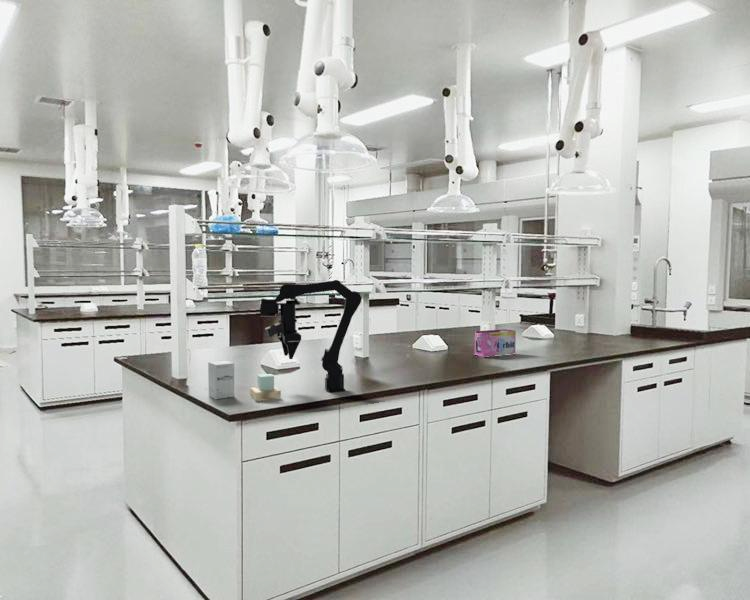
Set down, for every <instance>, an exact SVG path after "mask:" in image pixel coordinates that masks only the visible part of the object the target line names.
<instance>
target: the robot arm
mask: <svg viewBox="0 0 750 600" xmlns="http://www.w3.org/2000/svg"><path fill="white" fill-rule="evenodd" d="M332 291H335V292H336V293H337V294H339V295H340V296H341V297H343V298H344V299H345V300H344V301H345V302H344V308H343V313H342V316H341V318H340V321H339V323H338V326H337V329H336V332H335V335H334V338H333V339H332V342H331V344H330V347H329V348H328V349H327V348H325V349H324V354H323V356H322V357H321V360H320V361H321V362H322V363H321V366H322V368H323V370H324V371H326V372H327V373H326V375H325V378H324V389H325V390H326V391H327V392H329V393H332V392H333V393H334V392H344V391H345V392H346V388H345V374H344V373H343V370H344V369H343V366H342V365H341V364H340V363H339V358H340V357H339V356H340V351H341V348H342V345H343V342H344V340H345V337H346V334H347V332H348V328H349V326H350V324H351V321H352V318H353V316H354V314H355V313H356V312H357V310H358V307H360V304H361V303H362V296H361V294H360V293H359V292H357V291H356V290H353V291H352V290H350V289H349V288H348V287H347V286H346V285H344V284H343V283H342V282H341V280H338V279H334V280H330V281H329V280H328V281H322V282H320V281H319V282H315V283H314V282H313V283H305V284H303V283H300V284H299V283H285V284H282V285H281V286H280V288H279V294H278V295H277V296H276V297H275V298H272V299H271V298H269V299H268V298H261V299H260V306H259V307H260V308H259V314H260V315H259V316H260V317H261V318H263V317H265V318H267V317H268V318H269V317H270V318H271V317H272V318H274V317H276V316H277V315H279V313H280V318H279V319H278V322H277V323H275V324H272V325H270V326H267V327H265V328H264V329H265V332H266V334H267V337H269V338H272V337H273V336H276V338H277V339H278V340H279V341H280V343H281V347H282V351H283V354H284V356H285V357H287V356H288V358H289V360H293V359H294V355H295V354H296V351H297V349H298V347H299V345H300V344H301V341H302V334H301V333H299V332H298V330H297V326H296V325H297V322H298V319H297V318H296V316H297V315H296V312H297V311H296V306H299V305H301V302H300V301H299V300H298V298H296V297H300V296H302V295H306V294H315V293H322V292H332ZM292 299H293V300H292ZM284 300H285V302H282V301H284Z"/></svg>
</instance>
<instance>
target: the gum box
mask: <svg viewBox="0 0 750 600" xmlns="http://www.w3.org/2000/svg"><path fill="white" fill-rule="evenodd" d="M516 331H517V330H515V329H508V328H507V329H504V328H503V329H493V330H492V329H491V330H488V329H487V330H475V332H474V355H478V356H483V357H486V356H495V355H505V354H513V353H515V354H516V337H517V335H516Z"/></svg>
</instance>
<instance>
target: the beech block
mask: <svg viewBox="0 0 750 600" xmlns="http://www.w3.org/2000/svg"><path fill="white" fill-rule="evenodd" d="M251 396H252V397H251ZM250 397H251V398H252V399H253V400H254V402H262V401H261V400H265V401H273V400H272V399H276V400H281V399H282V398H281V389H279V388H278V387H277V386H276V385H274V390H265V391H260V390H259V389H258V386H257V387H256V386H255V387H254V386H253V387H250Z"/></svg>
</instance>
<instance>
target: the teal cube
mask: <svg viewBox="0 0 750 600" xmlns="http://www.w3.org/2000/svg"><path fill="white" fill-rule="evenodd" d="M274 386H275V376H274V375H273V373H263V374H262V373H261V374H259V373H258V374H257V387H258V389H259V390H260V391H265V390H274Z"/></svg>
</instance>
